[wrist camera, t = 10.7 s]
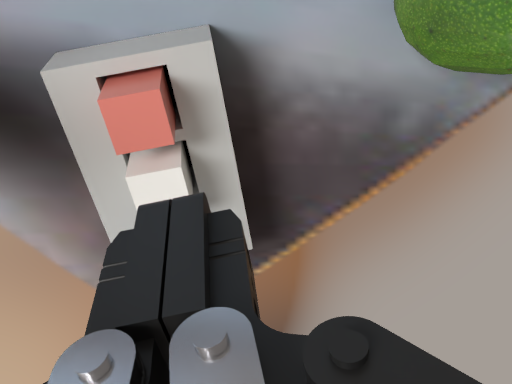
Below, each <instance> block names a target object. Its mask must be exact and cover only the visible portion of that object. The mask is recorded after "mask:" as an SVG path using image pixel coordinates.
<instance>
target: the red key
mask: <svg viewBox="0 0 512 384" xmlns="http://www.w3.org/2000/svg"><path fill="white" fill-rule="evenodd" d="M97 102H98V105H99V107H100V110H101V113H102V116H103V119H104V121H105V124H106V127H107V130H108V133H109V135H110V138H111V141H112V144H113V147H114V149H115V152H116V155H121V154H126V153H132V152H137V151H142V150H147V149H152V148H158V147H163V146H168V145H173V144H175V118H176V114H175V110H174V107H173V103H172V99H171V95H170V91H169V87H168V84H167V80H166V76H165V72H164V68H163V65H161V66H155V67H150V68H145V69H139V70H134V71H128V72H123V73H118V74H112V75H108V76H107V78H106V81H105V83H104V85H103V88H102V90H101V92H100V95H99V97H98V99H97Z"/></svg>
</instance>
